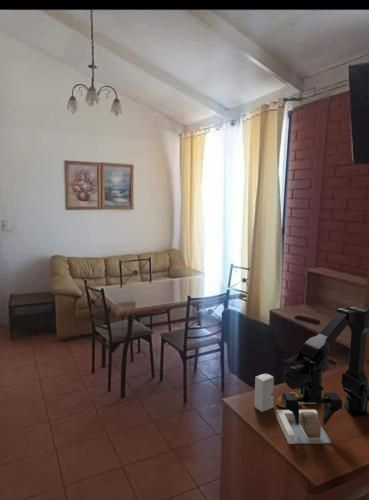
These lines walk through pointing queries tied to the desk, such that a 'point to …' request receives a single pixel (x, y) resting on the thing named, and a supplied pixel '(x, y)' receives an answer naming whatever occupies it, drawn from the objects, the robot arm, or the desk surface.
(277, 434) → the desk surface
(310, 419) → the walnut block
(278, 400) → the pastry
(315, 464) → the desk surface
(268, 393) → the skincare box
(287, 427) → the corner arena
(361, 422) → the desk surface
